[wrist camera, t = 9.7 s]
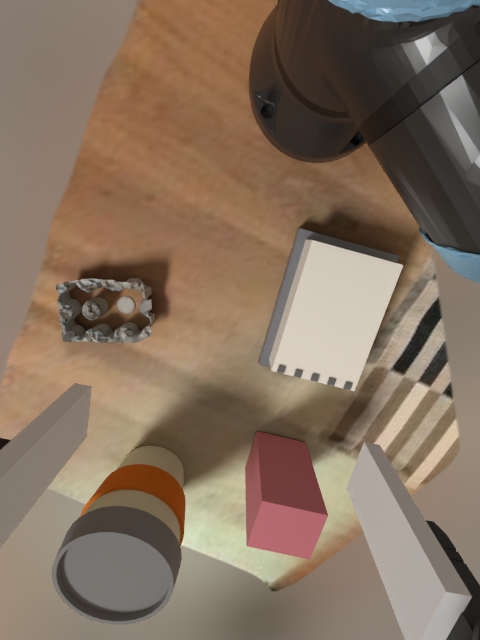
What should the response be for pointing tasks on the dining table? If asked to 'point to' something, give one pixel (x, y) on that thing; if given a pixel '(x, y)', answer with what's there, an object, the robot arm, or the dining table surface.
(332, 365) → the white notepad
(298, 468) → the pink block
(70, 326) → the egg carton
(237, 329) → the dining table surface
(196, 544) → the dining table surface
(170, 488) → the reusable coffee cup
